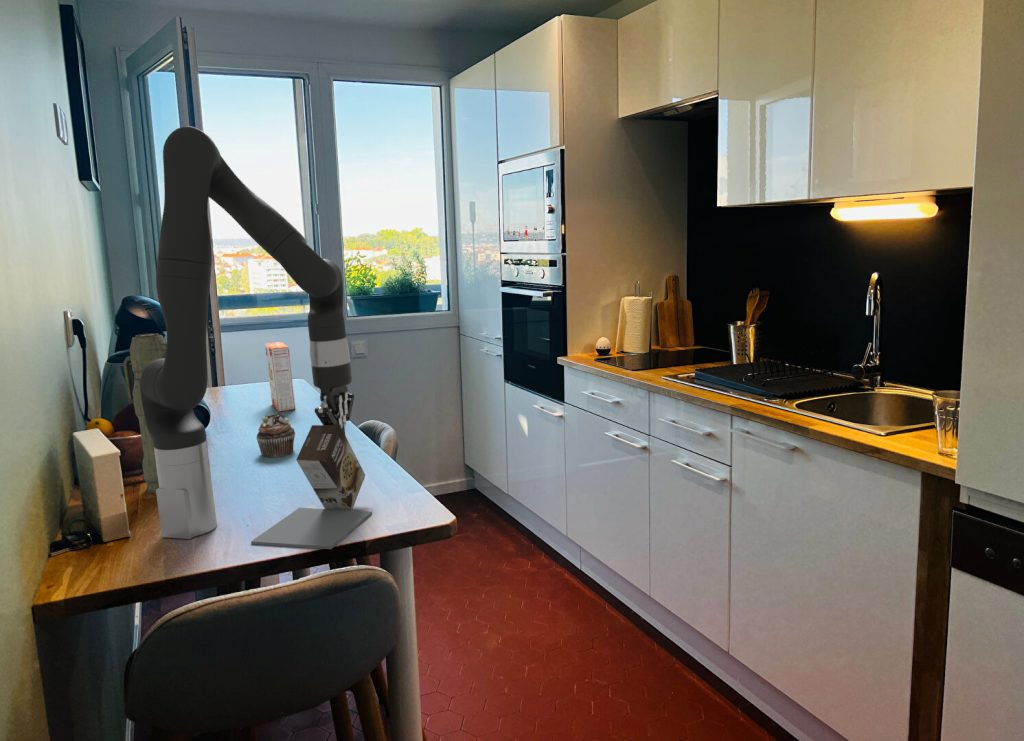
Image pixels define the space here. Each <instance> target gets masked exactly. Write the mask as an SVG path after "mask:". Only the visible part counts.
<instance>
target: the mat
mask: <svg viewBox="0 0 1024 741" xmlns="http://www.w3.org/2000/svg"><path fill="white" fill-rule="evenodd" d="M372 514H373V511H372V510H371V511H370V510H369V511H368V510H367V511H366V510H353V509H352V510H334V509H325V508H311V507H298V508H297V509H295V510H294V511H293V512H291V513H290V514H288V515H287V516H286V517H284V518H282V519H281V520H279V521H277V523H275V524H274V525H272V526H271V527H270V528H268V529H267V530H264V532H262V533H261V534H260V535H258V536H256V537H255V538H254V539H252V540H251V541H250V544H251V545H259V546H260V545H263V546H276V547H279V546H280V547H291V548H292V547H293V548H307V549H320V550H321V549H324V550H332V549H333V548H334V547H336V546H337V545H338V544H339V543H340V542H341V541H343V540H344V539H345V538H346V537H348V536H349V534H351V533H352V532H353V531H354V530H356V528H357V527H359V526H360V525H361V524H362V523H363V522H365V521H366V520H367V519H368V518H370V517H371V515H372Z"/></svg>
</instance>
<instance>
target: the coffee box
mask: <svg viewBox="0 0 1024 741" xmlns="http://www.w3.org/2000/svg"><path fill="white" fill-rule="evenodd" d="M295 460H296V462H297V464H298V465H299V467H300V469H301V470H302V472H303V474H304V476H305V478H306V480H307V481H308V482H309V484H310V486H311V487H312V489H313V491H314V493H315V495H316V497H317V498H318V500H319V501H320V503H321V505H322V506H323V509H334V510H353V509H354V507H355V504H356V501H357V498H358V496H359V494H360V491H361V488H362V486H363V483H364V480H365V478H366V473H365V471H364V469H363V468H362V466H361V464H360V462H359V460H358V458H357V456H356V454H355V452H354V450H353V448H352V446H351V444H350V442H349V440H348V438H347V436H346V433H345V434H344V432H343V430H342V428H341V426H340V425H323V424H322V425H320V424H319V425H318V424H314V425H313V424H312V425H311V427H310V428H309V431H308V433H307V436H306V437H305V439H304V442H303V444H302V446H301V448H300V450H299V453H298V455H297V457H296V459H295Z"/></svg>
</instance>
